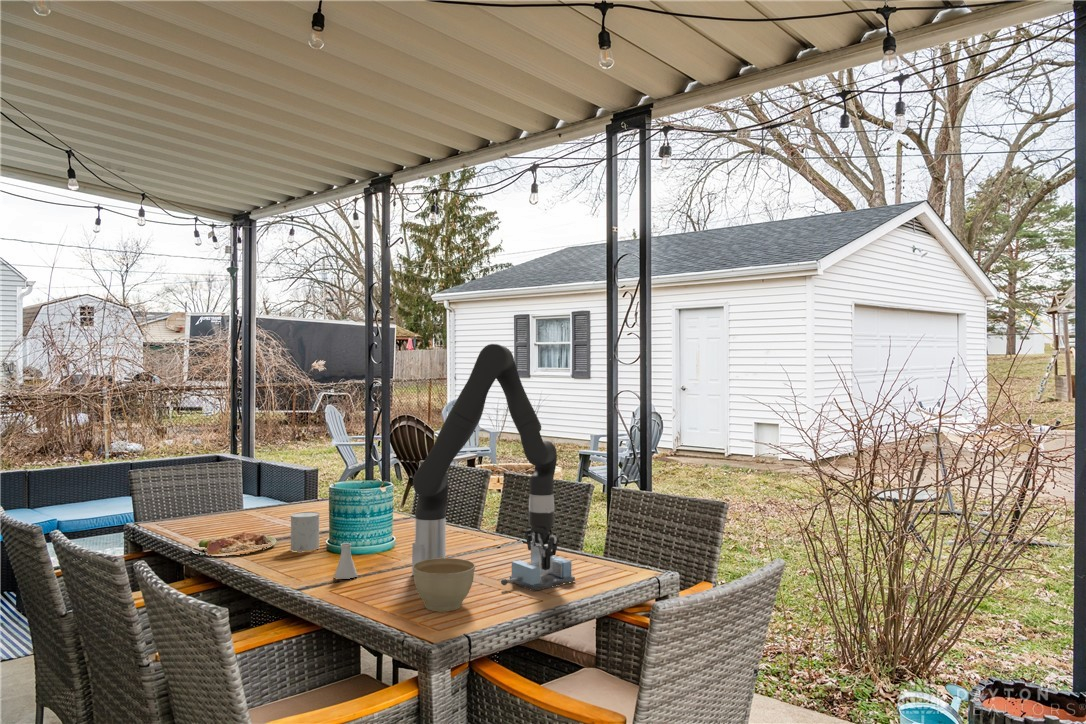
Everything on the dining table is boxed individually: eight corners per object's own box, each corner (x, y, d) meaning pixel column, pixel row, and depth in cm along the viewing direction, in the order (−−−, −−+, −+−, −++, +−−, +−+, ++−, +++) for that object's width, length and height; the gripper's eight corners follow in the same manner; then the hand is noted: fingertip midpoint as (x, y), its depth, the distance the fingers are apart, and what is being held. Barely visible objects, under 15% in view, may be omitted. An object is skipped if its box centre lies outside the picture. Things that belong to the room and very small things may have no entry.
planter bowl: (448, 621, 177) (448, 576, 178) (399, 609, 186) (400, 567, 186) (487, 603, 191) (487, 562, 191) (440, 594, 200) (440, 554, 200)
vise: (533, 591, 202) (533, 569, 203) (509, 581, 212) (509, 561, 212) (574, 582, 211) (574, 561, 212) (549, 573, 221) (550, 553, 221)
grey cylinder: (284, 551, 248) (284, 515, 248) (303, 545, 257) (303, 511, 257) (306, 554, 244) (306, 517, 245) (325, 548, 253) (325, 513, 254)
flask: (335, 582, 211) (336, 548, 211) (330, 576, 218) (331, 542, 218) (360, 579, 214) (360, 545, 215) (355, 573, 221) (355, 540, 221)
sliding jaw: (511, 590, 199) (511, 572, 199) (491, 581, 207) (491, 565, 207) (541, 583, 205) (541, 566, 205) (521, 575, 213) (521, 559, 213)
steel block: (538, 575, 209) (538, 547, 209) (530, 572, 212) (530, 545, 212) (552, 572, 212) (552, 545, 212) (544, 569, 215) (544, 542, 215)
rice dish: (235, 565, 235) (236, 548, 235) (171, 554, 245) (172, 538, 245) (293, 546, 261) (293, 531, 261) (233, 537, 271) (233, 522, 271)
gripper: (517, 507, 216) (517, 564, 215) (546, 514, 204) (546, 575, 204) (537, 504, 220) (537, 561, 220) (566, 511, 209) (566, 571, 208)
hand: (541, 567), depth 212 cm, fingers closed on steel block, 4 cm apart
